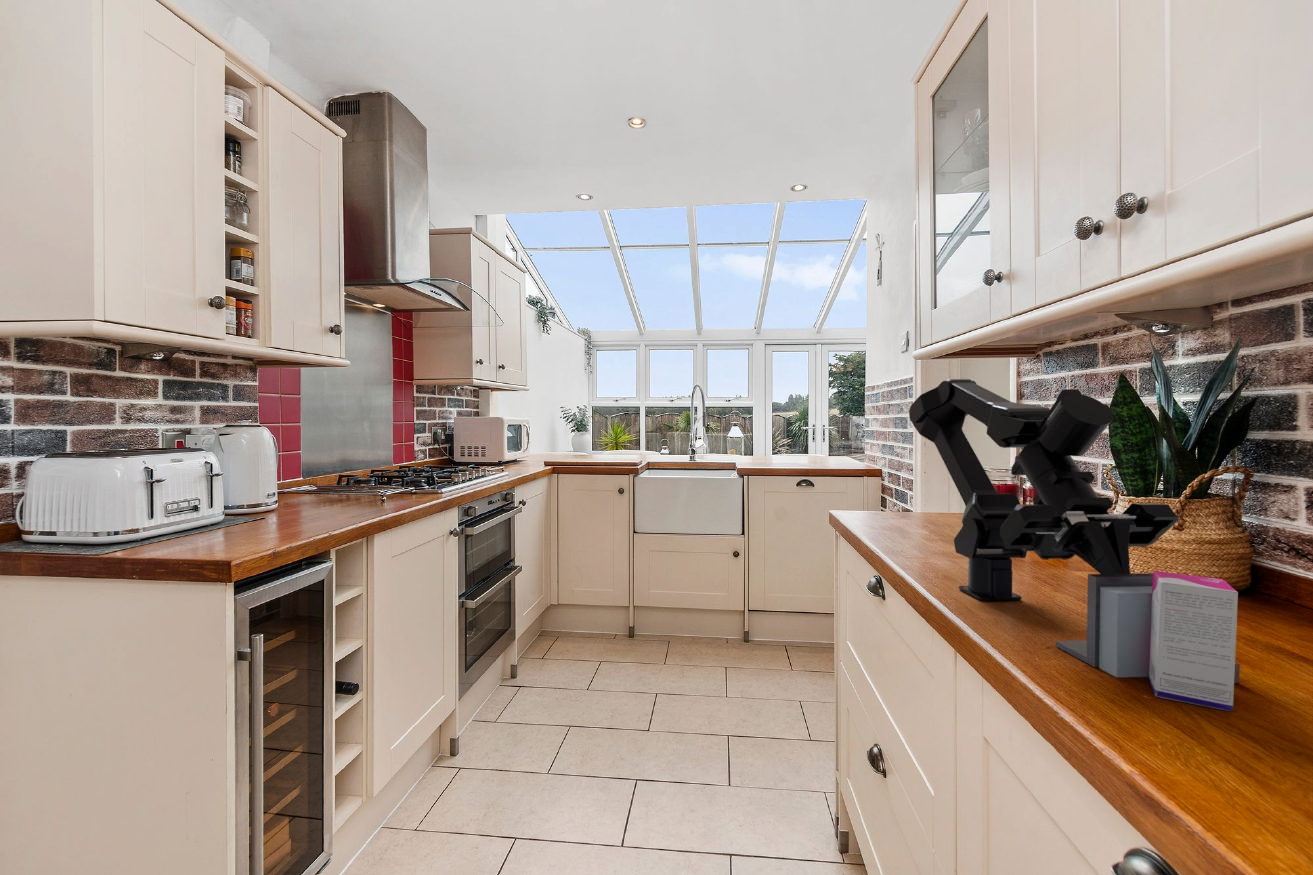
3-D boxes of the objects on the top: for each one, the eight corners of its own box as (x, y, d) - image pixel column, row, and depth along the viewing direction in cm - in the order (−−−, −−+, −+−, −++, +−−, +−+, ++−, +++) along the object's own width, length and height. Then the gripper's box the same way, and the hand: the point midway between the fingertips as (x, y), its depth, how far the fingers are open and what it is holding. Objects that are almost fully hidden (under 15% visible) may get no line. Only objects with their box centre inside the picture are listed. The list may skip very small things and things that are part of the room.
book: (1099, 668, 66) (1100, 586, 65) (1169, 666, 66) (1171, 585, 65) (1116, 677, 63) (1117, 593, 63) (1190, 676, 63) (1191, 592, 63)
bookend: (1055, 645, 72) (1056, 563, 71) (1128, 644, 72) (1129, 562, 72) (1094, 667, 65) (1096, 576, 65) (1174, 665, 66) (1176, 575, 65)
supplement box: (1236, 713, 55) (1239, 590, 55) (1154, 697, 59) (1156, 581, 58) (1222, 689, 60) (1224, 577, 60) (1146, 675, 63) (1148, 569, 63)
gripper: (1093, 516, 84) (1160, 619, 73) (962, 517, 83) (1011, 622, 72) (1141, 464, 76) (1225, 571, 65) (996, 465, 75) (1057, 574, 64)
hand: (1125, 587), depth 67 cm, fingers closed, pressing on bookend
